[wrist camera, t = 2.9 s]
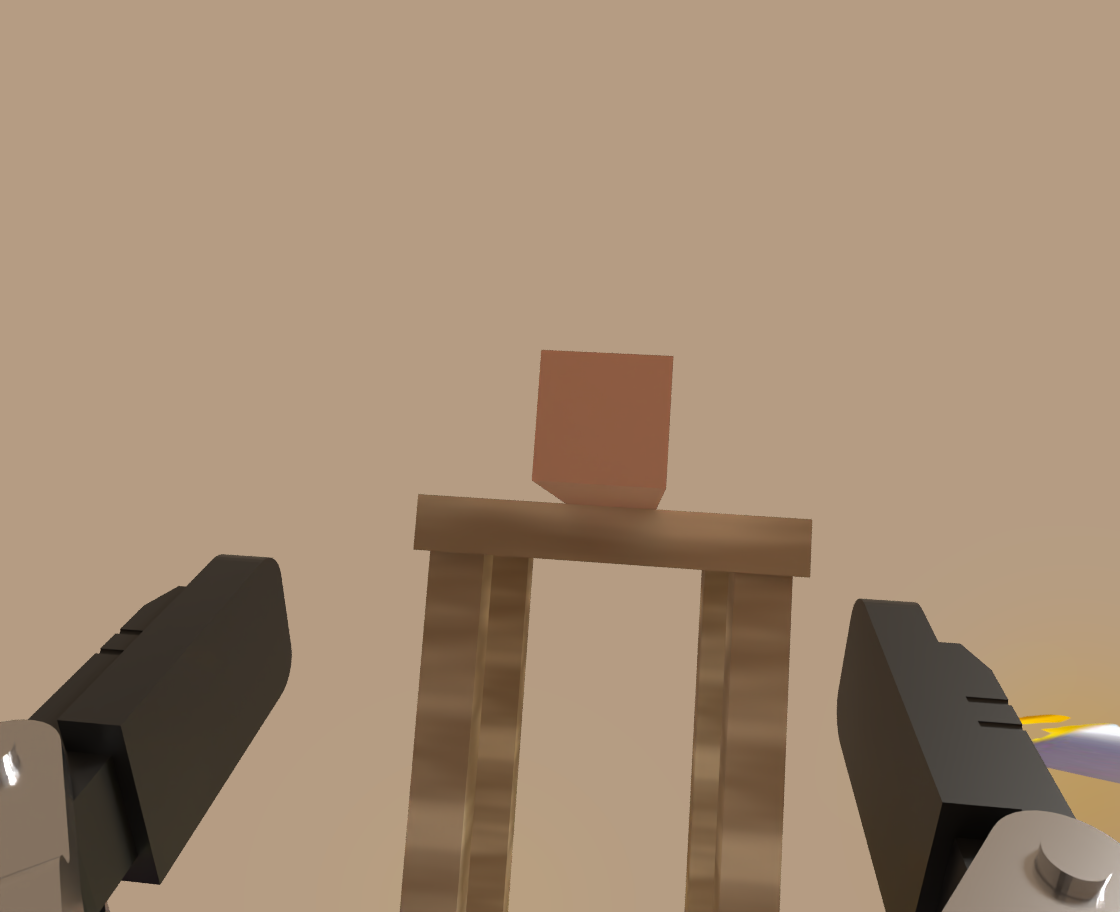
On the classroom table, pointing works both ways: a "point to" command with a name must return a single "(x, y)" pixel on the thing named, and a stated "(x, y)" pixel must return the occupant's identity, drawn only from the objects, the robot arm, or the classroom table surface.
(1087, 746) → the classroom table surface
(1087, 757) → the classroom table surface
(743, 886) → the tall stand
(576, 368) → the brown rectangular block
